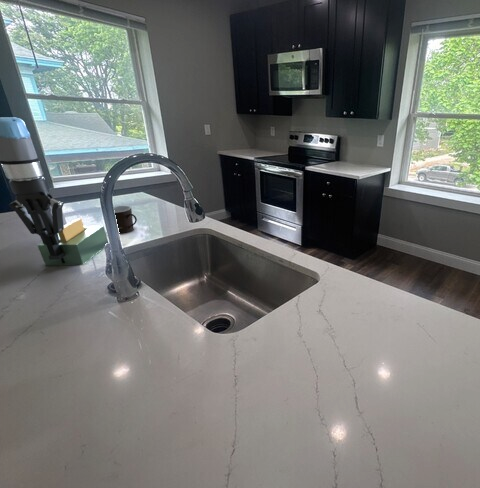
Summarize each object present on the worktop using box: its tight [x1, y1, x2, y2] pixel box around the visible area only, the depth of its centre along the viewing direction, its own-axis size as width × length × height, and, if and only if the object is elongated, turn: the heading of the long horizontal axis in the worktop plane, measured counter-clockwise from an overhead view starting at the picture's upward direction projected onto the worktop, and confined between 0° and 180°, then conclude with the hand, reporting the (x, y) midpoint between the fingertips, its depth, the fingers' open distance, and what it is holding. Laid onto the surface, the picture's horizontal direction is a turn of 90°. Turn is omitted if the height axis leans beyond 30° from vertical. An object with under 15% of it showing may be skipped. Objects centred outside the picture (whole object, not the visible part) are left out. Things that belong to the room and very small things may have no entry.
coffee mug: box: [113, 205, 138, 235], centre depth 120 cm, size 12×9×10 cm
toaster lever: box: [48, 253, 65, 260], centre depth 93 cm, size 3×2×1 cm
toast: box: [58, 218, 85, 242], centre depth 101 cm, size 2×10×11 cm, turn 8°
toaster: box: [37, 225, 109, 266], centre depth 102 cm, size 11×16×8 cm
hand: (56, 253), depth 92 cm, fingers closed
